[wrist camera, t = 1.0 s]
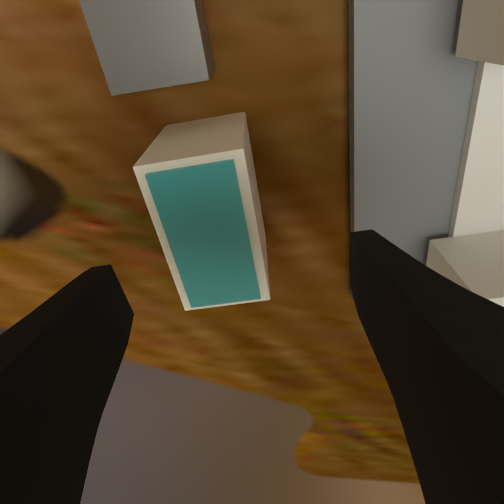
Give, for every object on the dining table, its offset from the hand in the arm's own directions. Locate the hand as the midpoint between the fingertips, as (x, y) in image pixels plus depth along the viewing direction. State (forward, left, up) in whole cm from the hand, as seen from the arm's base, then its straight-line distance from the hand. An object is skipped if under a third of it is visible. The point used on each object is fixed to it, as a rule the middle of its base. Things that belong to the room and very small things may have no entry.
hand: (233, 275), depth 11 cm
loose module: (-1, +1, -10) cm, 10 cm away
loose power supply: (+7, +2, -10) cm, 12 cm away
